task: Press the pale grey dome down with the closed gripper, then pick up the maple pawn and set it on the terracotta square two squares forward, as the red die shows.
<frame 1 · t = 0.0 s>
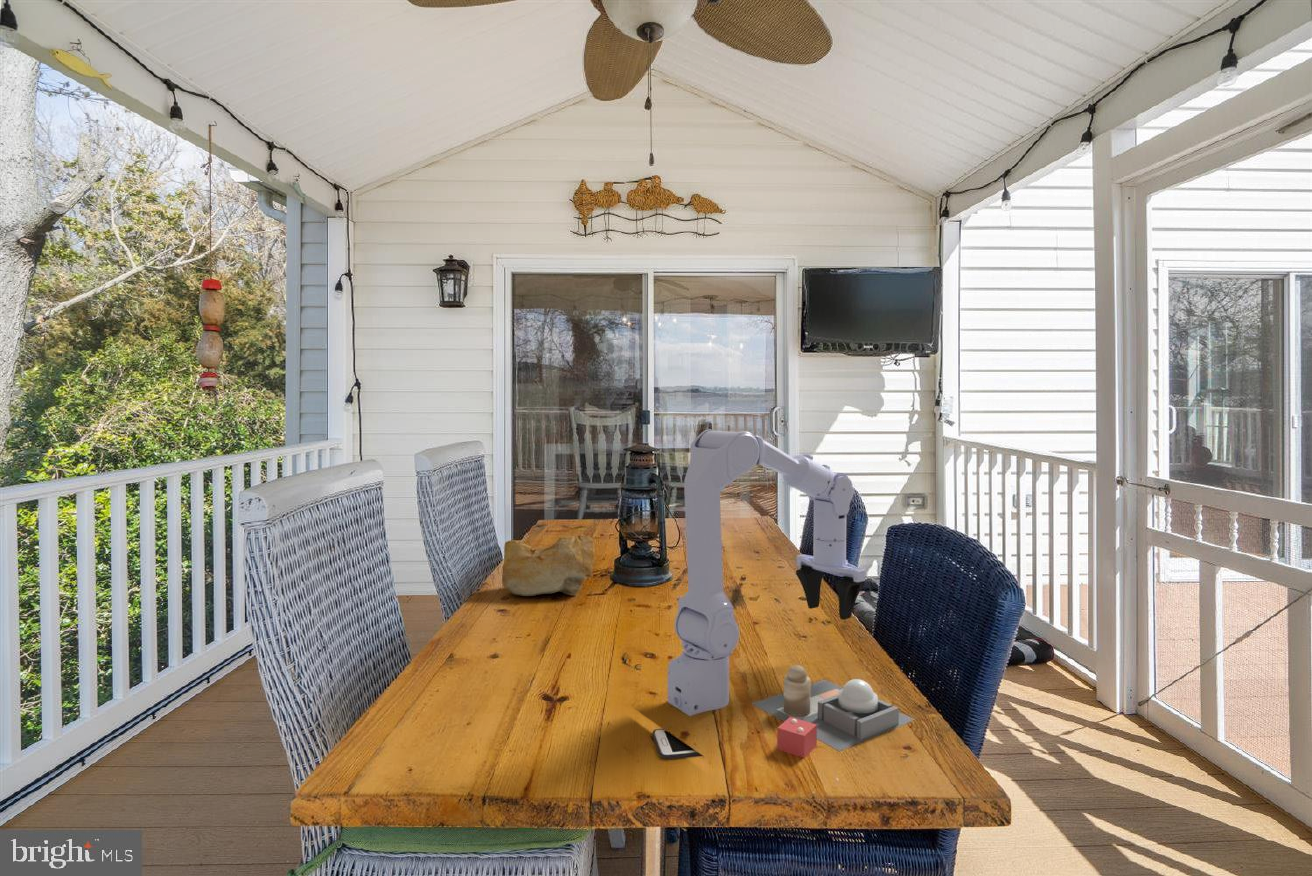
hand: (829, 612, 127), 10 cm above the table, tool pointing down, fingers open, 7 cm apart
cell phone: (706, 745, 101), on the table
dome: (857, 695, 104), point 5 cm above the table, slide at 0.0 cm
rough brown rock: (553, 591, 179), on the table
pawn: (796, 711, 108), point 1 cm above the table, touching game board
red die: (796, 754, 97), on the table
game board: (831, 717, 108), on the table
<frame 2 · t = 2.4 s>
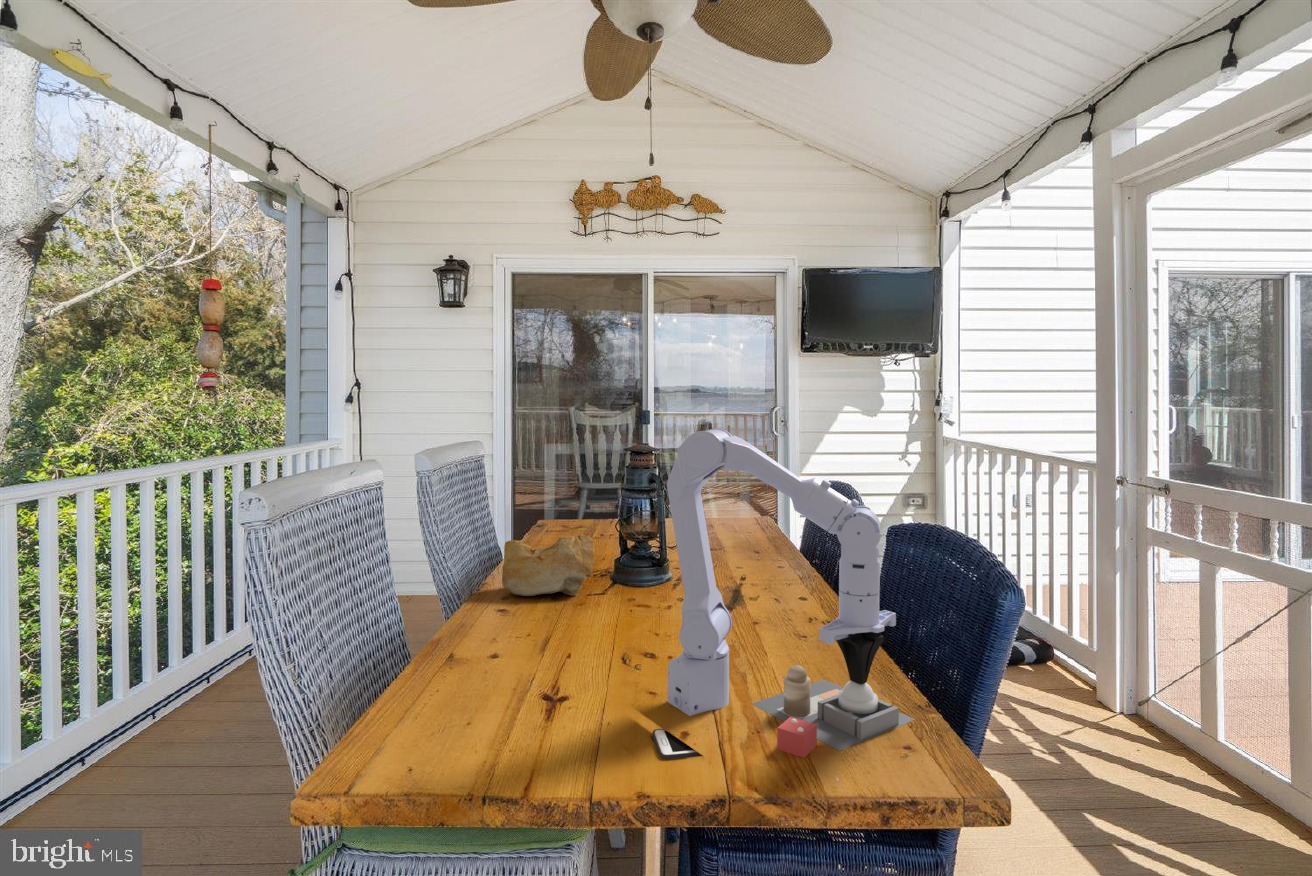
hand: (858, 681, 104), 7 cm above the table, tool pointing down, fingers closed, pressing on dome
dome: (857, 696, 104), point 5 cm above the table, slide at 0.1 cm, touching gripper
everything else where it was.
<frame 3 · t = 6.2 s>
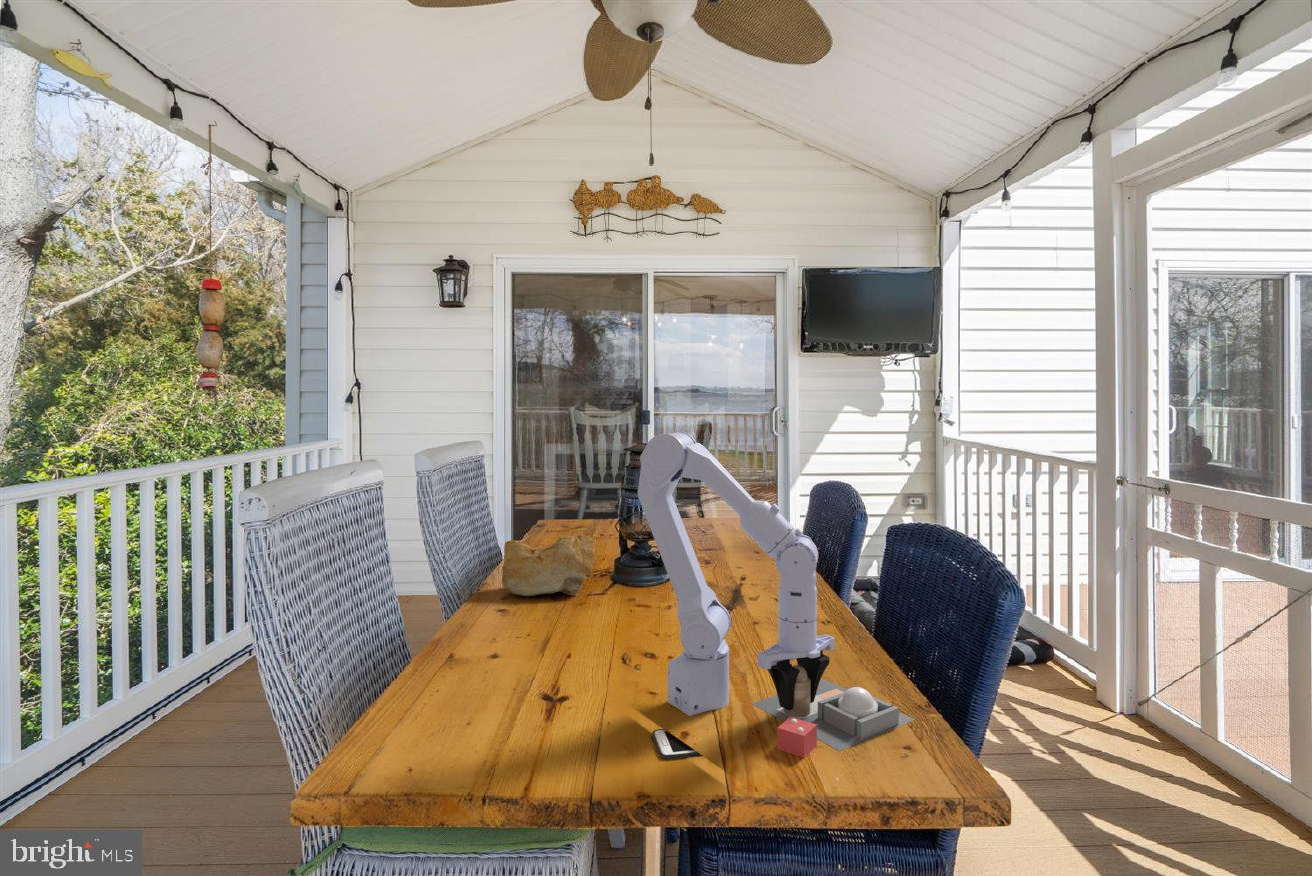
hand: (796, 704, 108), 2 cm above the table, tool pointing down, fingers closed on pawn, 4 cm apart
dome: (857, 703, 104), point 4 cm above the table, slide at 1.2 cm
pawn: (796, 711, 108), point 1 cm above the table, touching game board, gripper
everything else where it was.
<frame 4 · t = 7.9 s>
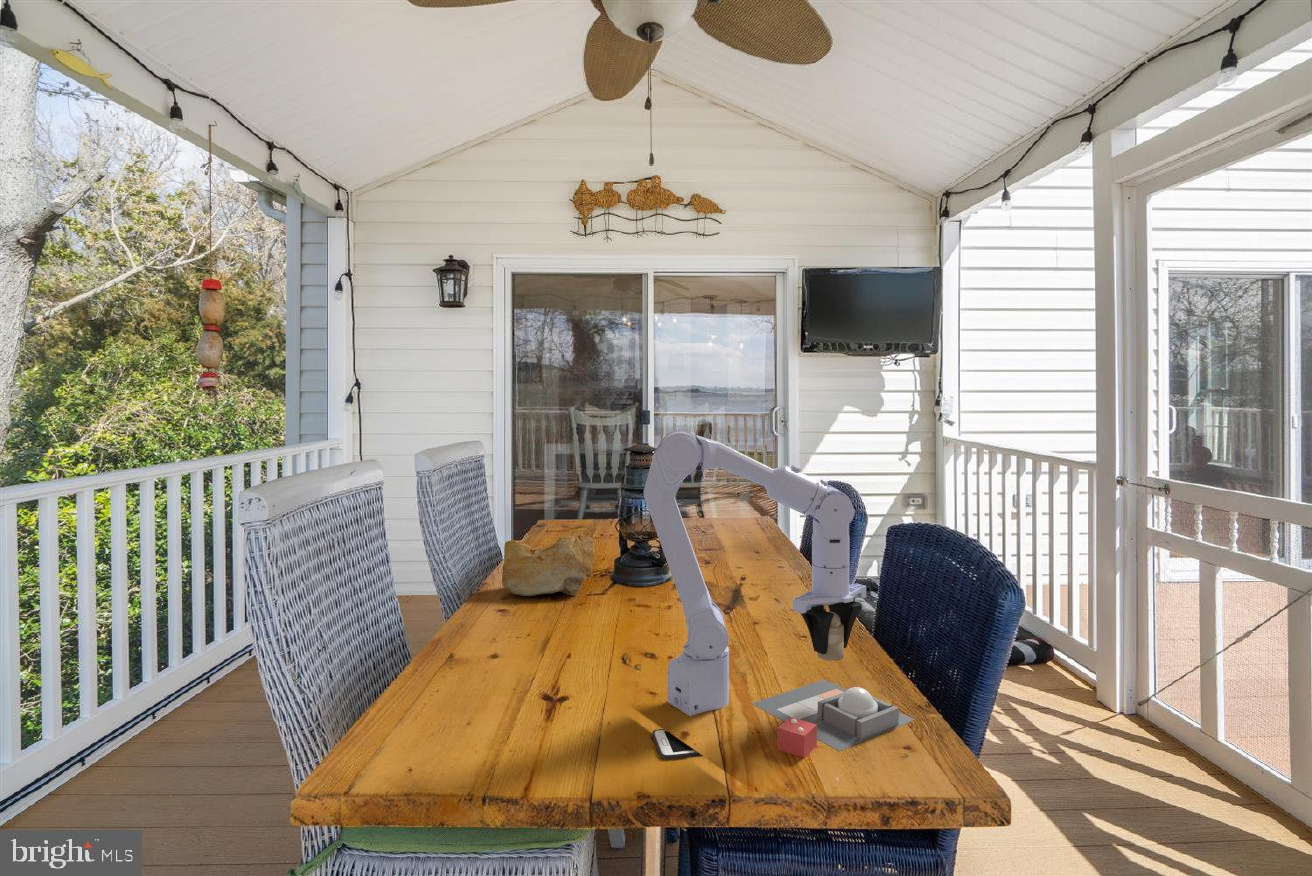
hand: (830, 649, 111), 9 cm above the table, tool pointing down, fingers closed on pawn, 4 cm apart
pawn: (830, 656, 111), point 8 cm above the table, touching gripper
everything else where it was.
when the fingers open (4 cm above the table, at t = 9.5 s): pawn drops 2 cm, resting on game board.
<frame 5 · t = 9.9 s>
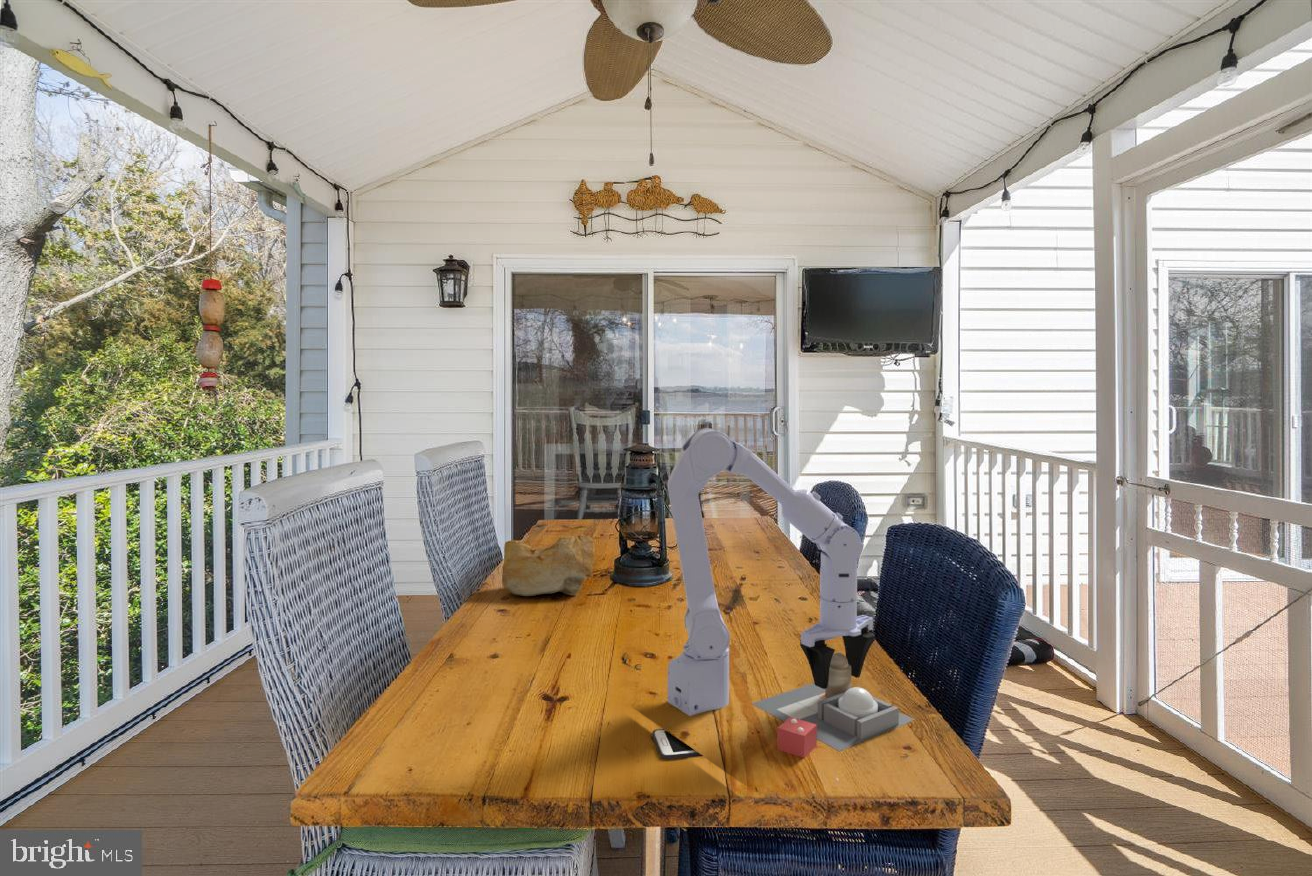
hand: (837, 681, 113), 4 cm above the table, tool pointing down, fingers open, 7 cm apart
pawn: (838, 696, 113), point 1 cm above the table, touching game board
everything else where it was.
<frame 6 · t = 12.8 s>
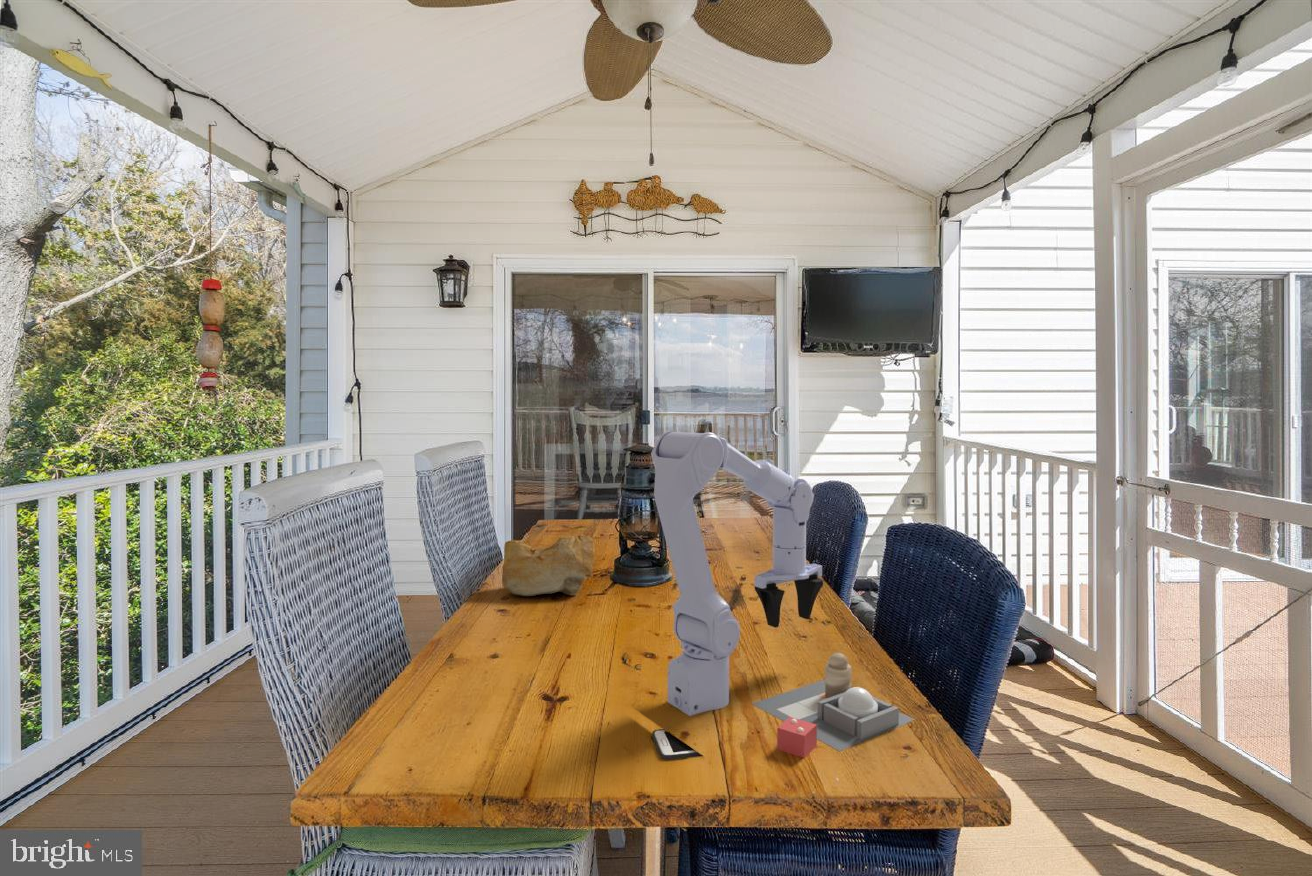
hand: (789, 621, 124), 9 cm above the table, tool pointing down, fingers open, 7 cm apart
nothing on the table moved.
at the end: dome slide at 1.2 cm; pawn 0.2 cm from the target spot, point 1.0 cm above the table; pawn tilted 0° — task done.
